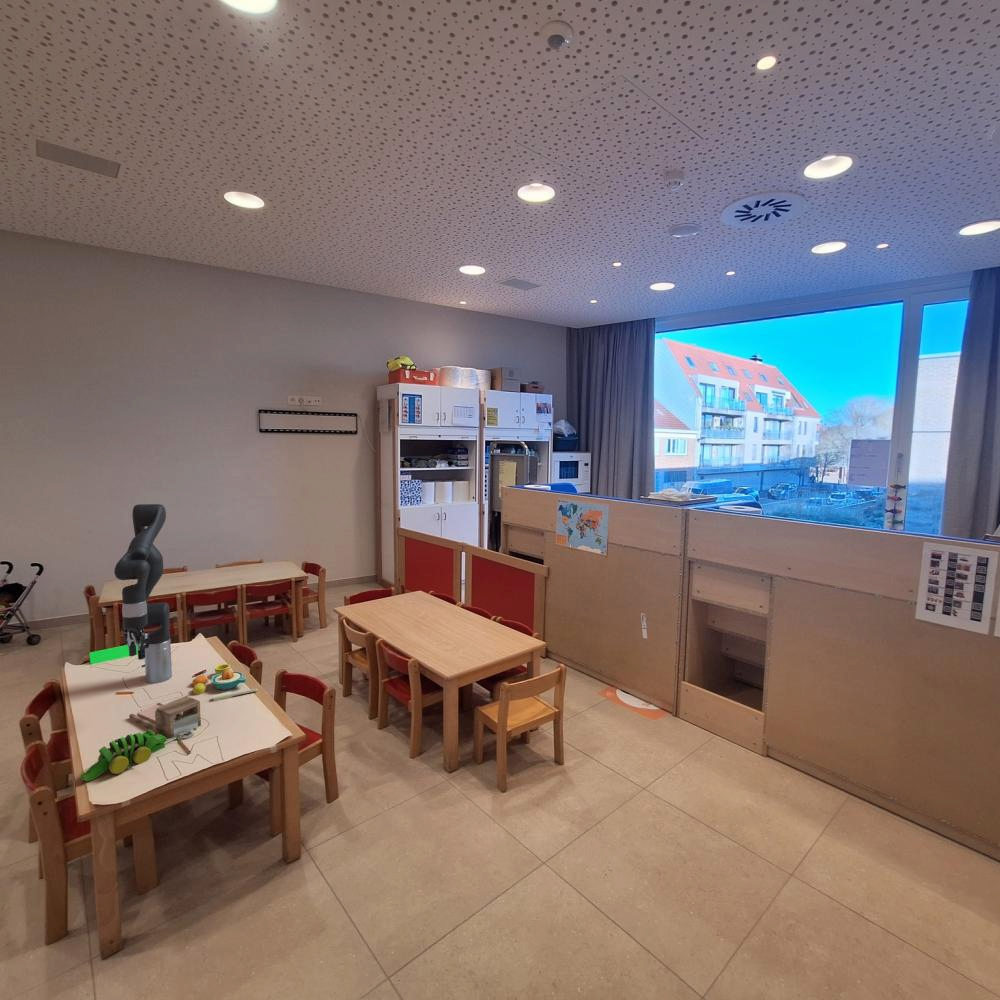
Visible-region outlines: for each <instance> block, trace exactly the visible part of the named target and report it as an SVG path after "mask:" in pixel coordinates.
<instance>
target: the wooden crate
mask: <svg viewBox="0 0 1000 1000" xmlns="http://www.w3.org/2000/svg"><path fill="white" fill-rule="evenodd" d="M155 705H159V706H161V707H158V708H156V709H157V710H156V711H155V721H156V724H154V723H152V722H149V721H147V720H145V719H143V718H141V717H139V716H137V714H134V713H130V714H129V715H128V716H129V720H131V721H132V722H135V723H137V724H139V726H143V728H146V729H147V730H149V729H150V730H151V731H154V732H155V733H156V734H157V735H158V734H161V735H163V736H164V737H166V738H167V739H171V738H174V737H177V735H178V734H181V733H184V732H187V731H193V730H194V729H196V728H199V727H201V726H202V722H201V721H202V719H201V701H200V700H198V699H195V698H193V697H190V696H187V695H185V696H183V697H180V698H178V699H176V700H173V701H171V702H168V703H165V704H163V703H161V702H158V703H156V704H155ZM174 715H176V718H177V719H175V720H173V716H174ZM174 739H175V738H174Z"/></svg>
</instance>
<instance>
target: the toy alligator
mask: <svg viewBox="0 0 1000 1000" xmlns="http://www.w3.org/2000/svg"><path fill="white" fill-rule="evenodd" d="M155 733H156V732H154V731H152V730H150V729H147V730H146V731H145V732H143V733H141V732H136V733H134V734H127V735H126V736H125V737H119V738H118V739H117V742H116V741H115V740H112V741H110V742H109V747H106V746H103V747H101V748H100V749H99V750H98V753H99V755H98V757H97V762H94V764H92V765H91V766H90V767H89V768H88V770H86V771H85V772H84V773H81V775H80V779H82V780H83V781H89V782H90V781H92V780H94V779H96V778H98V777H99V776H101V775H102V774H103V773H105V771H107V770H109V771H110V773H111V774H115V775H117V774H118V775H119V774H121V773H124V771H126V770H127V768H128V767H129V766H130V765H131V764H133V762H134V763H135V764H138V765H140V764H144V763H146V762H148V760H149V759H150V758H151V757H152V753H155V752H157V751H159V750H161V749H164V748H166V743H167V742H168V741H171V740H175V739H177V740H178V741H181V740H188V739H191V738H193V737H194V732H193V730H190V731H187V732H184V733H181V734H178V735H177V737H174V738H171V739H169V738H167V737H165V736H163V735H161V734H158V733H157V734H156V735H155Z"/></svg>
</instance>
